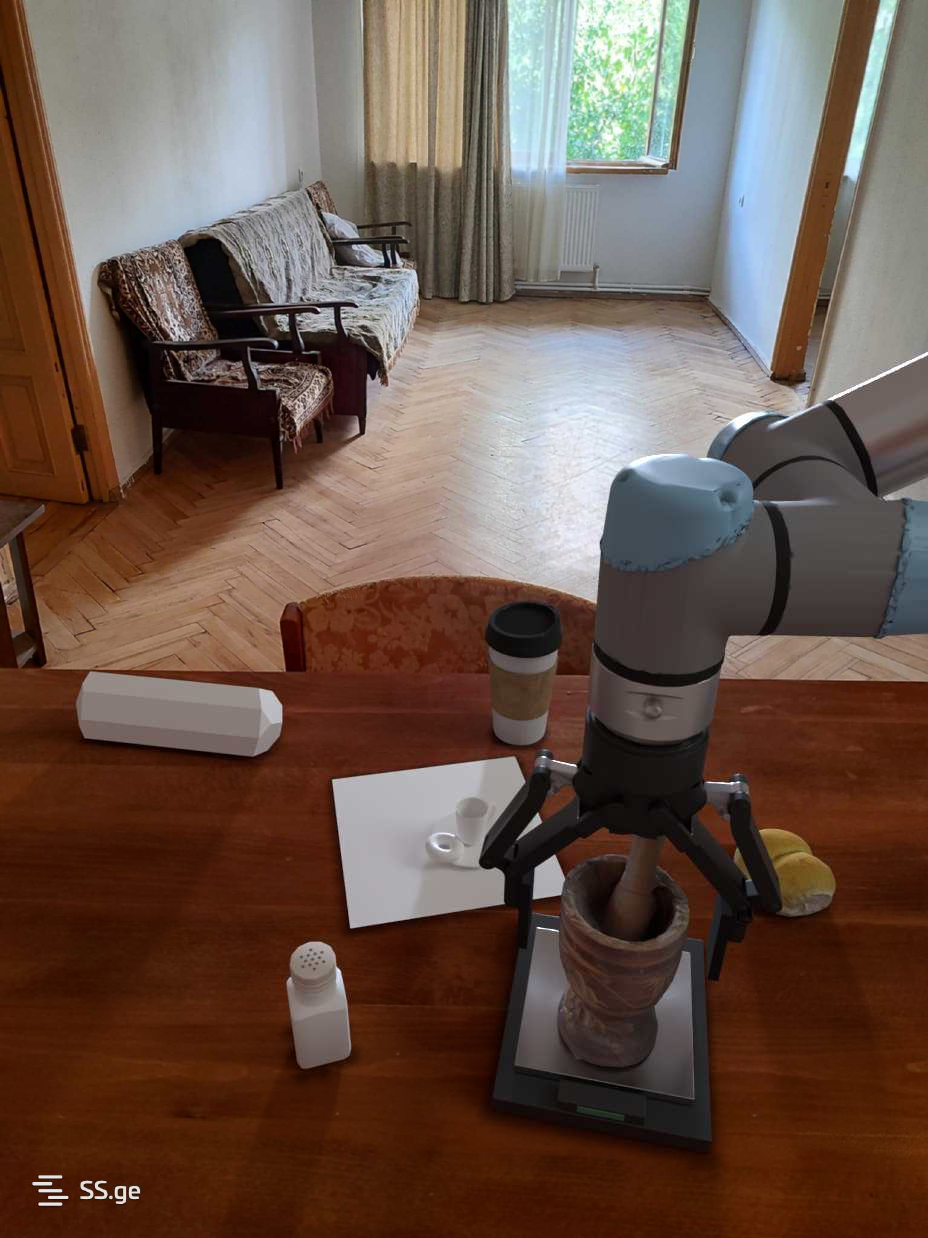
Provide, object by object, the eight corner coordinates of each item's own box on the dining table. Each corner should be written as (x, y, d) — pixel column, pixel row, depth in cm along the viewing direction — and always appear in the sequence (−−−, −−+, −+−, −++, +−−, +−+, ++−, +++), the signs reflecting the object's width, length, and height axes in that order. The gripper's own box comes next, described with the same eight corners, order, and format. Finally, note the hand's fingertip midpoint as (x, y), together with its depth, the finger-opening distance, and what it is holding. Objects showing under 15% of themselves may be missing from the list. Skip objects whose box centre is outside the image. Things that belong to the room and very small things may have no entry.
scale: (700, 952, 75) (705, 933, 73) (708, 1154, 60) (713, 1134, 59) (524, 923, 77) (526, 904, 76) (491, 1110, 63) (492, 1090, 61)
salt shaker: (352, 1060, 66) (345, 976, 61) (299, 1074, 65) (287, 990, 60) (343, 1014, 69) (336, 931, 64) (292, 1027, 68) (280, 943, 63)
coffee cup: (571, 735, 100) (581, 621, 93) (511, 762, 96) (517, 644, 89) (525, 700, 106) (531, 590, 99) (468, 723, 102) (469, 610, 95)
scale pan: (689, 959, 72) (690, 952, 72) (692, 1106, 61) (694, 1099, 61) (536, 933, 74) (536, 927, 74) (513, 1072, 63) (514, 1065, 63)
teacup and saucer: (430, 878, 81) (429, 845, 79) (416, 819, 88) (415, 787, 86) (521, 864, 83) (523, 832, 81) (501, 807, 90) (502, 776, 88)
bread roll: (787, 839, 86) (795, 808, 84) (846, 907, 79) (857, 875, 77) (712, 856, 84) (718, 824, 82) (766, 928, 77) (774, 896, 75)
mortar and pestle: (557, 936, 73) (574, 744, 63) (663, 950, 72) (697, 757, 62) (546, 1066, 63) (564, 862, 53) (669, 1085, 62) (711, 880, 52)
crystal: (50, 722, 95) (263, 745, 92) (73, 663, 99) (280, 684, 95) (80, 748, 101) (281, 771, 98) (102, 692, 105) (296, 712, 102)
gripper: (435, 722, 53) (438, 962, 63) (878, 778, 48) (801, 1025, 59) (460, 656, 59) (459, 884, 70) (853, 701, 55) (788, 936, 65)
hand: (616, 949), depth 64 cm, fingers open, 13 cm apart
